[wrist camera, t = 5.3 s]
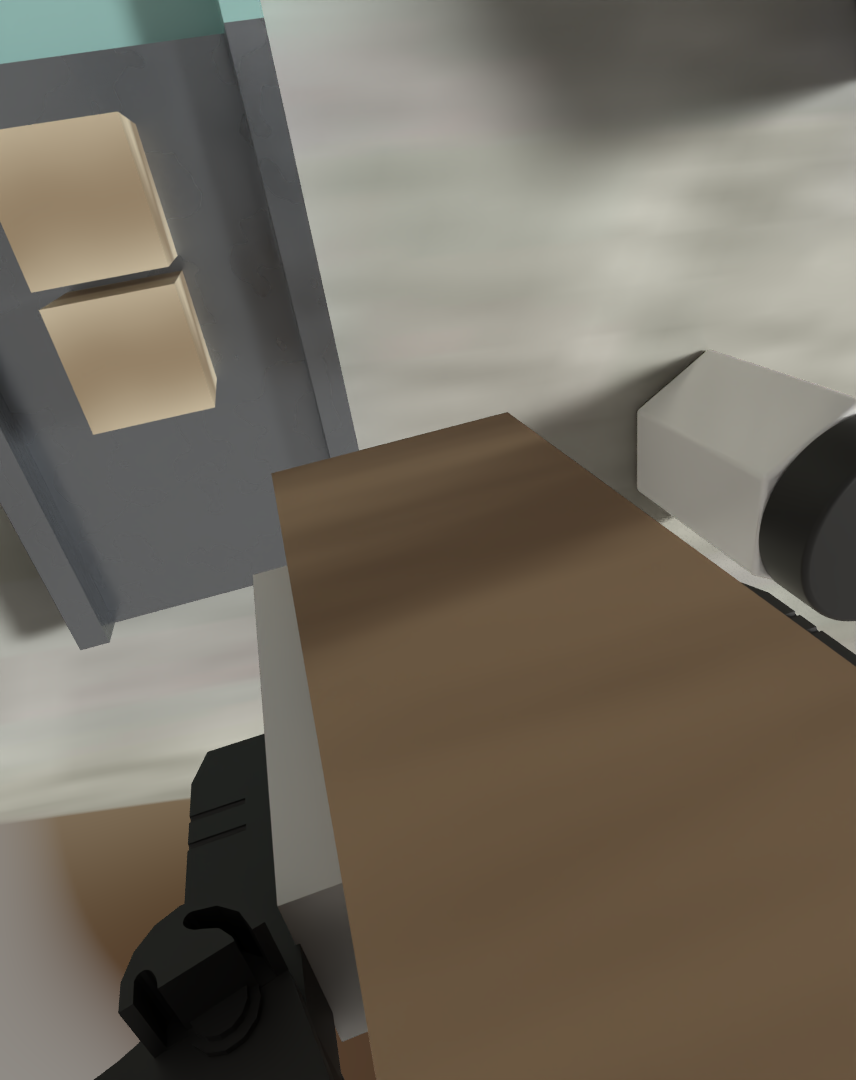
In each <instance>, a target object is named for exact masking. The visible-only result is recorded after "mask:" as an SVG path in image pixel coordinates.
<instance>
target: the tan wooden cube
mask: <svg viewBox="0 0 856 1080" xmlns="http://www.w3.org/2000/svg"><path fill="white" fill-rule="evenodd" d="M0 222H1V225H2V227H3V229H4V231H5V234H6V236H7V238H8V241H9V243H10V245H11V247H12V250H13V252H14V254H15V257H16V259H17V261H18V263H19V266H20V268H21V270H22V273H23V275H24V277H25V279H26V282H27V284H28V286H29V289H30V291H31V293H32V292H38V291H43V290H48V289H54V288H59V287H64V286H69V285H75V284H80V283H85V282H90V281H96V280H101V279H106V278H111V277H117V276H122V275H127V274H132V273H138V272H143V271H148V270H153V269H159V268H164V267H169V266H170V264H171V263H172V262H173V261H174V259H175V258H176V257H177V252H176V249H175V246H174V243H173V240H172V237H171V234H170V230H169V227H168V224H167V221H166V218H165V215H164V212H163V209H162V205H161V202H160V199H159V196H158V193H157V190H156V187H155V183H154V180H153V177H152V174H151V171H150V168H149V165H148V162H147V158H146V155H145V152H144V149H143V146H142V143H141V140H140V137H139V133H138V130H137V127H136V124H135V123H133V122H132V121H130V120H129V119H128V118H126V117H125V116H123V115H122V114H121V113H119V112H111V113H105V114H98V115H91V116H85V117H78V118H72V119H65V120H59V121H52V122H45V123H39V124H32V125H26V126H19V127H13V128H6V129H0Z"/></svg>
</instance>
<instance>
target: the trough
mask: <svg viewBox="0 0 856 1080" xmlns="http://www.w3.org/2000/svg"><path fill="white" fill-rule="evenodd" d="M111 112H119V113H121V114H122V115H123V116H125V117H126V118H128V119H129V120H130V121H132V122H133V123H135V124H136V127H137V130H138V133H139V137H140V140H141V143H142V146H143V149H144V152H145V155H146V158H147V162H148V165H149V168H150V171H151V174H152V177H153V180H154V183H155V187H156V190H157V193H158V196H159V199H160V202H161V205H162V209H163V212H164V215H165V218H166V221H167V224H168V227H169V230H170V234H171V237H172V240H173V243H174V246H175V249H176V252H177V257H176V258H175V259H174V261H173V262H172V263H171V264H170V266H169V267H164V268H159V269H153V270H148V271H143V272H138V273H132V274H127V275H122V276H117V277H111V278H106V279H101V280H96V281H90V282H85V283H80V284H75V285H69V286H64V287H59V288H54V289H48V290H43V291H38V292H32V293H31V291H30V289H29V286H28V284H27V282H26V279H25V277H24V275H23V273H22V270H21V268H20V266H19V263H18V261H17V259H16V257H15V254H14V252H13V250H12V247H11V245H10V243H9V241H8V238H7V236H6V234H5V231H4V229H3V227H2V225H1V222H0V503H1V505H2V507H3V509H4V510H5V512H6V514H7V516H8V518H9V520H10V522H11V523H12V525H13V527H14V529H15V531H16V533H17V534H18V536H19V538H20V540H21V542H22V544H23V545H24V547H25V549H26V551H27V553H28V555H29V556H30V558H31V560H32V562H33V564H34V566H35V567H36V569H37V571H38V573H39V575H40V577H41V578H42V580H43V582H44V584H45V586H46V588H47V590H48V591H49V593H50V595H51V597H52V599H53V601H54V602H55V604H56V606H57V608H58V610H59V612H60V613H61V615H62V617H63V619H64V621H65V623H66V624H67V626H68V628H69V630H70V632H71V634H72V635H73V637H74V639H75V641H76V643H77V645H78V646H79V648H80V650H83V649H87V648H90V647H94V646H98V645H101V644H105V643H109V642H110V639H111V635H112V631H113V627H114V624H115V622H118V621H122V620H126V619H130V618H133V617H137V616H141V615H144V614H148V613H152V612H156V611H159V610H163V609H167V608H170V607H174V606H178V605H182V604H185V603H189V602H193V601H196V600H200V599H204V598H208V597H211V596H215V595H219V594H222V593H226V592H230V591H233V590H237V589H241V588H245V587H248V586H252V585H253V575H255V574H258V573H262V572H266V571H269V570H273V569H276V568H280V567H283V566H287V561H286V555H285V549H284V544H283V538H282V532H281V526H280V521H279V515H278V509H277V503H276V497H275V492H274V486H273V480H272V474H271V473H275V472H278V471H282V470H286V469H290V468H294V467H298V466H302V465H306V464H309V463H313V462H317V461H321V460H325V459H329V458H333V457H336V456H340V455H344V454H348V453H352V452H356V451H359V449H358V444H357V440H356V435H355V430H354V426H353V421H352V417H351V412H350V408H349V403H348V399H347V394H346V390H345V385H344V380H343V376H342V371H341V367H340V362H339V358H338V353H337V349H336V344H335V339H334V335H333V330H332V326H331V321H330V317H329V312H328V308H327V303H326V299H325V294H324V289H323V285H322V280H321V276H320V271H319V267H318V262H317V258H316V253H315V248H314V244H313V239H312V235H311V230H310V226H309V221H308V217H307V212H306V208H305V203H304V198H303V194H302V189H301V185H300V180H299V176H298V171H297V167H296V162H295V157H294V153H293V148H292V144H291V139H290V135H289V130H288V126H287V121H286V117H285V112H284V107H283V103H282V98H281V94H280V89H279V85H278V80H277V76H276V71H275V66H274V62H273V57H272V53H271V48H270V44H269V39H268V35H267V30H266V25H265V21H264V18H256V19H249V20H241V21H234V22H227V23H224V33H222V34H214V35H207V36H200V37H193V38H185V39H178V40H171V41H164V42H156V43H149V44H142V45H135V46H127V47H120V48H113V49H106V50H98V51H91V52H84V53H77V54H69V55H62V56H55V57H47V58H40V59H33V60H26V61H18V62H11V63H4V64H0V129H6V128H13V127H19V126H26V125H32V124H39V123H45V122H52V121H59V120H65V119H72V118H78V117H85V116H91V115H98V114H105V113H111ZM181 270H182V271H183V274H184V277H185V280H186V284H187V287H188V290H189V293H190V296H191V299H192V302H193V306H194V309H195V312H196V315H197V318H198V321H199V324H200V327H201V331H202V334H203V337H204V340H205V343H206V346H207V349H208V352H209V356H210V359H211V362H212V365H213V368H214V371H215V374H216V377H217V383H216V399H215V407H214V408H210V409H206V410H201V411H197V412H192V413H188V414H183V415H179V416H174V417H170V418H166V419H161V420H157V421H152V422H148V423H143V424H139V425H135V426H130V427H126V428H121V429H117V430H112V431H108V432H103V433H99V434H95V435H93V433H92V431H91V428H90V426H89V424H88V421H87V419H86V417H85V415H84V412H83V410H82V408H81V405H80V403H79V401H78V399H77V396H76V394H75V392H74V389H73V387H72V385H71V383H70V380H69V378H68V376H67V373H66V371H65V369H64V367H63V364H62V362H61V360H60V357H59V355H58V353H57V350H56V348H55V346H54V344H53V341H52V339H51V337H50V334H49V332H48V330H47V328H46V325H45V323H44V321H43V318H42V316H41V314H40V312H39V310H40V309H41V308H43V307H45V306H46V305H48V304H49V303H51V302H53V301H54V300H56V299H57V298H59V297H61V296H62V295H64V294H65V293H67V292H72V291H77V290H82V289H87V288H92V287H98V286H103V285H108V284H113V283H119V282H124V281H129V280H134V279H139V278H145V277H150V276H155V275H160V274H165V273H171V272H176V271H181Z"/></svg>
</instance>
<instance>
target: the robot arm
mask: <svg viewBox="0 0 856 1080" xmlns="http://www.w3.org/2000/svg"><path fill="white" fill-rule="evenodd" d="M742 584H743V585H745V586H746V587H747V588H749V589H750V590H752V591H753V592H754V593H756V594H757V595H758V596H760V597H761V598H762V599H764V600H765V601H767V602H768V603H769V604H771V605H772V606H773V607H775V608H776V609H778V610H779V611H780V612H782V613H783V614H784V615H786V616H787V617H788V618H790V619H791V620H793V621H794V622H795V623H797V624H798V625H799V626H801V627H802V628H804V629H805V630H806V631H808V632H809V633H810V634H812V635H813V636H814V637H816V638H817V639H819V640H820V641H821V642H823V643H824V644H825V645H827V646H828V647H830V648H831V649H832V650H834V651H835V652H836V653H838V654H839V655H840V656H842V657H843V658H845V659H846V660H847V661H849V662H850V663H851V664H853V665H854V666H856V655H855V654H854V653H853V652H851V651H850V650H848V649H847V648H846V647H844V646H843V645H841V644H840V643H838V642H837V641H836V640H834V639H833V638H831V637H830V636H829V635H827V634H826V633H824V632H823V631H820V632H819V631H818V630H817V628H816V626H815V625H813V624H812V623H810V622H809V621H808V620H806V619H805V618H803V617H802V616H801V615H798V616H797V615H796V614H795V611H794V610H792V609H791V608H789V607H788V606H787V605H785V604H784V603H782V602H781V601H780V600H778V599H777V598H775V597H774V596H773V595H771V594H770V593H768V592H765V591H763V590H760V589H757V588H755V587H752V586H749V585H747V584H744V583H742ZM253 587H254V600H255V614H256V627H257V640H258V654H259V667H260V680H261V694H262V707H263V721H264V734H262V735H259V736H256V737H253V738H250V739H246V740H243V741H240V742H237V743H234V744H231V745H228V746H225V747H222V748H219V749H215V750H212V751H209V752H207V754H206V756H205V758H204V760H203V762H202V764H201V766H200V768H199V770H198V772H197V774H196V776H195V778H194V780H193V782H192V784H191V802H190V803H191V804H190V819H191V823H189V837H188V845H189V851H188V854H187V872H186V888H185V904H183V905H181V906H179V907H178V908H177V909H175V910H174V911H173V912H171V913H170V914H169V915H168V916H166V917H165V918H164V919H162V920H161V921H160V922H159V923H157V924H156V925H155V926H154V927H153V928H152V930H151V931H150V932H149V933H148V935H147V936H146V937H145V939H144V940H143V941H142V943H141V944H140V945H139V946H138V947H137V949H136V950H135V951H134V953H133V955H132V958H131V960H130V962H129V965H128V967H127V969H126V972H125V974H124V977H123V979H122V981H121V986H120V998H119V1011H118V1013H119V1014H120V1016H121V1017H122V1018H123V1019H124V1021H125V1022H126V1023H127V1025H128V1026H129V1027H130V1028H131V1030H132V1031H133V1032H134V1033H135V1035H136V1036H137V1037H138V1038H139V1040H140V1042H139V1044H137V1045H136V1046H135V1047H134V1048H133V1049H132V1050H131V1051H129V1052H128V1053H127V1054H126V1055H125V1056H124V1057H123V1058H121V1059H120V1060H119V1061H118V1062H117V1063H115V1064H114V1065H113V1066H111V1067H110V1068H109V1069H107V1070H106V1071H105V1072H104V1073H102V1074H101V1075H100V1076H98V1077H97V1078H95V1079H94V1080H344V1078H343V1076H342V1074H341V1070H340V1062H339V1055H338V1047H337V1040H336V1032H335V1028H336V1030H337V1032H338V1034H339V1036H340V1038H341V1040H342V1042H343V1041H345V1040H348V1039H350V1038H353V1037H355V1036H358V1035H360V1034H362V1033H365V1032H368V1028H367V1023H366V1017H365V1011H364V1005H363V1000H362V994H361V988H360V982H359V977H358V971H357V965H356V959H355V953H354V948H353V942H352V936H351V930H350V925H349V919H348V913H347V907H346V901H345V896H344V890H343V884H342V878H341V873H340V867H339V861H338V855H337V850H336V844H335V838H334V832H333V826H332V821H331V815H330V809H329V803H328V798H327V792H326V786H325V780H324V774H323V769H322V763H321V757H320V751H319V746H318V740H317V734H316V728H315V723H314V717H313V711H312V705H311V699H310V694H309V688H308V682H307V676H306V671H305V665H304V659H303V653H302V648H301V642H300V636H299V630H298V624H297V619H296V613H295V607H294V601H293V596H292V590H291V584H290V578H289V572H288V567H287V566H283V567H280V568H276V569H273V570H269V571H266V572H262V573H258V574H255V575H253Z"/></svg>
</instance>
